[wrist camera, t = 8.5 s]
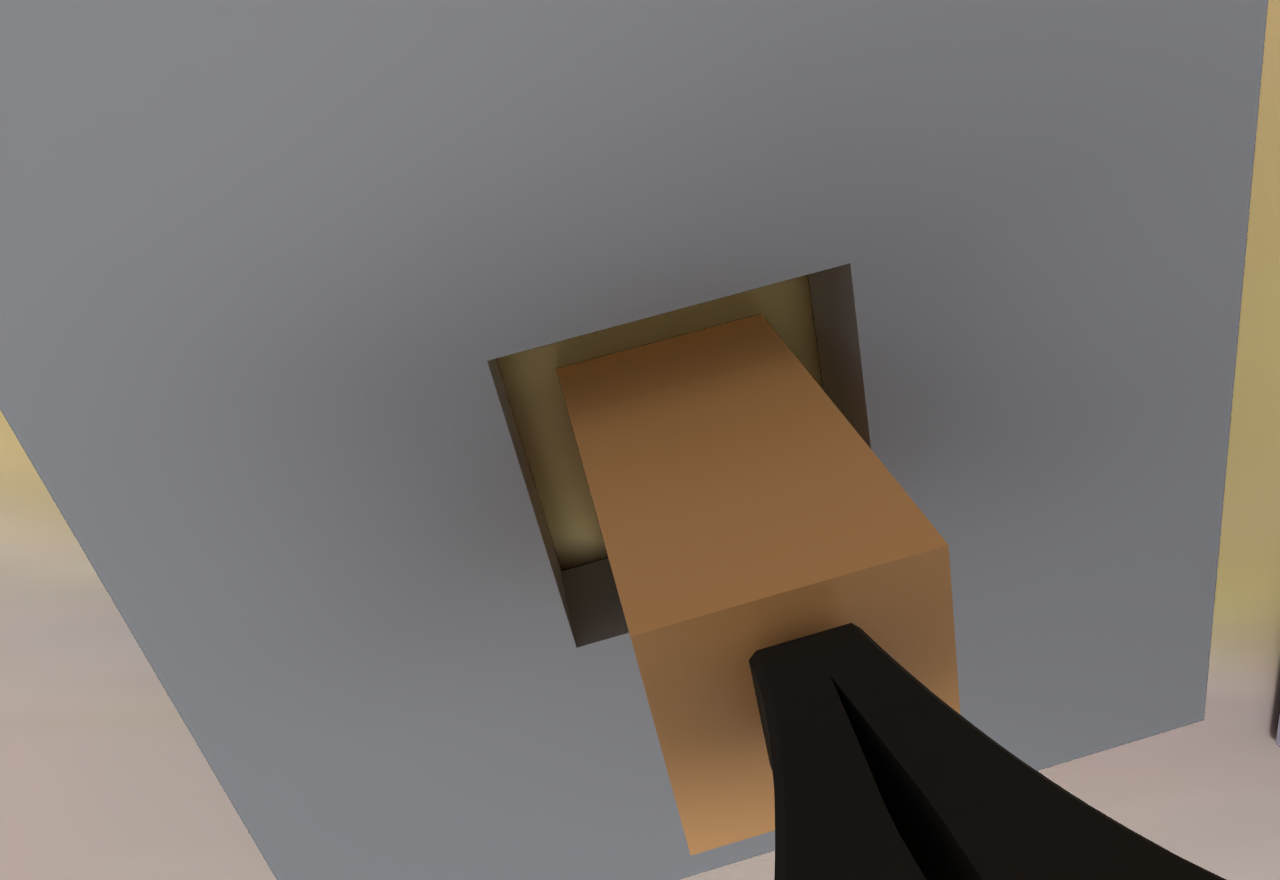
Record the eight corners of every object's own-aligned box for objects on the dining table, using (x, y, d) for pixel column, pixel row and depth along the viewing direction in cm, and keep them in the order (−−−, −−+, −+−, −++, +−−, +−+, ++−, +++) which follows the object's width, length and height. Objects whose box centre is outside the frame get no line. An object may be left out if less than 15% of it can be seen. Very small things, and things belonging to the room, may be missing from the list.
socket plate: (1179, -333, 16) (1301, -371, 13) (1136, 650, 25) (1204, 720, 23) (-143, -19, 14) (-244, -6, 12) (345, 885, 24) (337, 983, 22)
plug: (761, 313, 19) (948, 544, 12) (789, 488, 21) (964, 773, 14) (556, 369, 19) (630, 636, 12) (603, 540, 21) (690, 856, 14)
